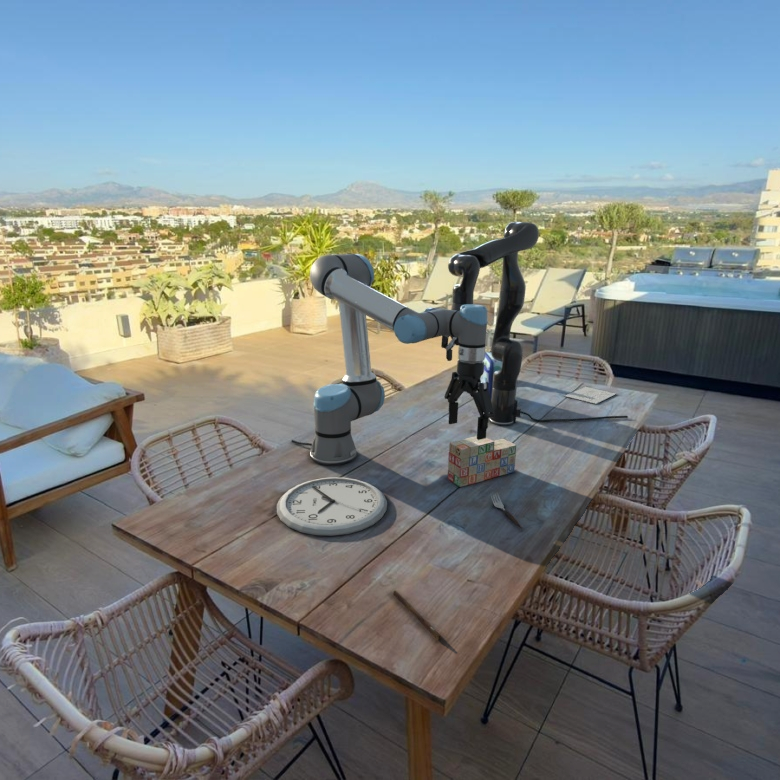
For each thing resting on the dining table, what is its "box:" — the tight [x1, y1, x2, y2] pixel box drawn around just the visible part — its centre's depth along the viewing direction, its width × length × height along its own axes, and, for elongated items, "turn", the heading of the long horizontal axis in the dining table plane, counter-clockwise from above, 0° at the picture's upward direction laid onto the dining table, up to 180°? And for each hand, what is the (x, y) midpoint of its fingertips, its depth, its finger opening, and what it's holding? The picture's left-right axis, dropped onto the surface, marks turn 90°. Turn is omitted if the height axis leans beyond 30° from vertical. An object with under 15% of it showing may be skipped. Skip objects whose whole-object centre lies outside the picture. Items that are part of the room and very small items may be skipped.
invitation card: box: [564, 386, 616, 405], centre depth 242 cm, size 21×1×15 cm
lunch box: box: [481, 351, 503, 398], centre depth 230 cm, size 26×11×21 cm, turn 179°
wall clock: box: [276, 476, 388, 537], centre depth 142 cm, size 30×2×30 cm
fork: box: [489, 492, 523, 529], centre depth 139 cm, size 3×16×2 cm, turn 15°
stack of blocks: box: [447, 435, 517, 488], centre depth 160 cm, size 21×6×12 cm, turn 119°
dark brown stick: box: [392, 590, 441, 641], centre depth 102 cm, size 15×1×1 cm, turn 34°
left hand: (466, 430), depth 153 cm, fingers open, 13 cm apart
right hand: (460, 362), depth 181 cm, fingers open, 8 cm apart
